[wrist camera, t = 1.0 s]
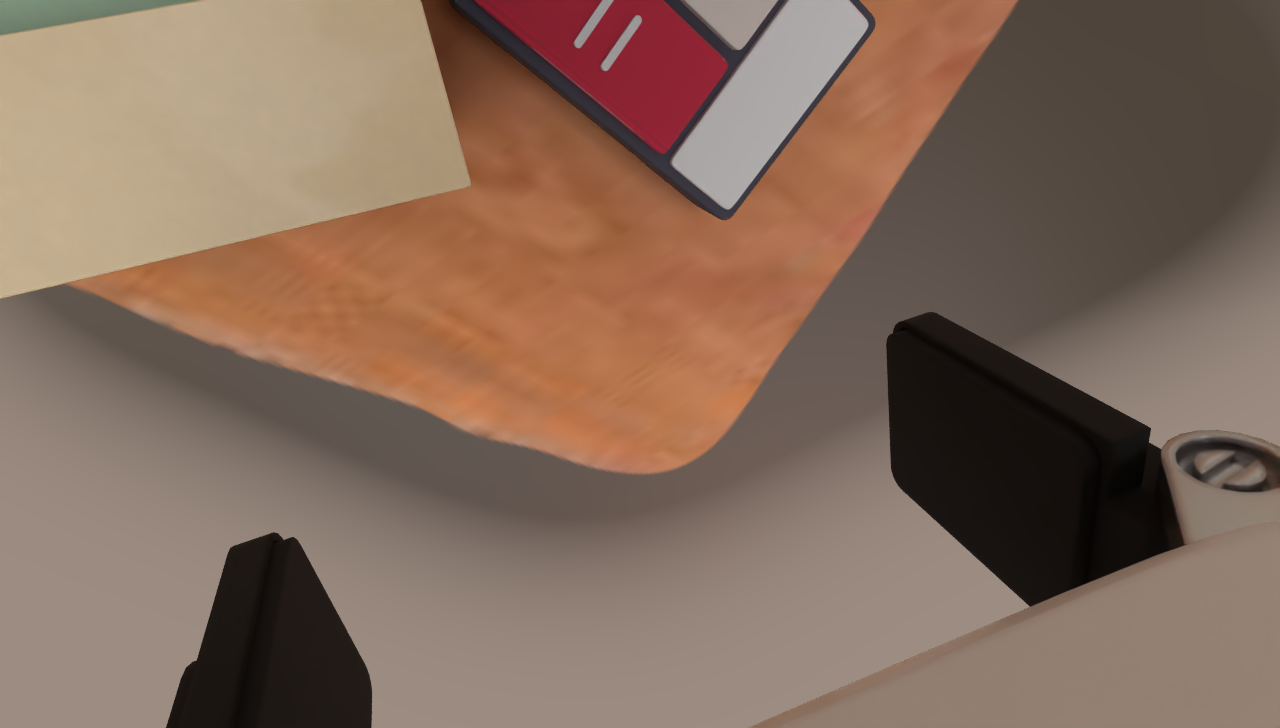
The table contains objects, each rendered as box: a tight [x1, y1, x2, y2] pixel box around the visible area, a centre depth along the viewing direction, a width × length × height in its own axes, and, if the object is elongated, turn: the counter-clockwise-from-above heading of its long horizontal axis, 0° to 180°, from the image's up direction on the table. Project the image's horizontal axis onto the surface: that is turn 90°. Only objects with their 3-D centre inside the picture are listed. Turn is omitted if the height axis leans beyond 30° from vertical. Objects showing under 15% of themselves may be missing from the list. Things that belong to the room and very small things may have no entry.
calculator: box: [450, 0, 875, 220], centre depth 32 cm, size 11×4×15 cm
